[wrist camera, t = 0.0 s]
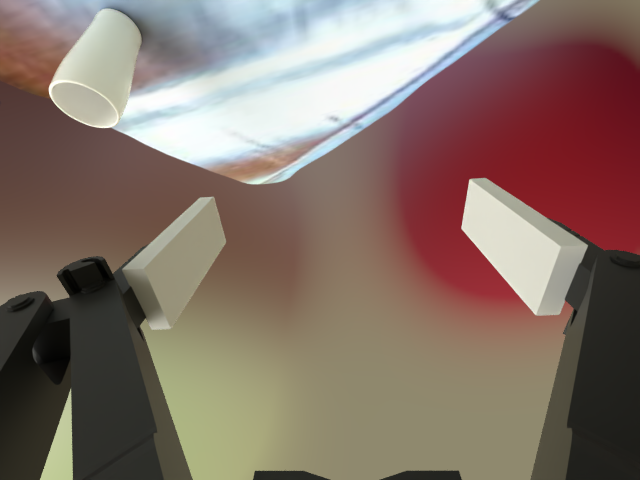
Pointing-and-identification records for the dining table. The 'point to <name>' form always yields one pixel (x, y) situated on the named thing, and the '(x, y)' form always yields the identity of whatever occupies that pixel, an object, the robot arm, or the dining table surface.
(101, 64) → the drinking glass
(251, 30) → the dining table surface
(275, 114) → the dining table surface
